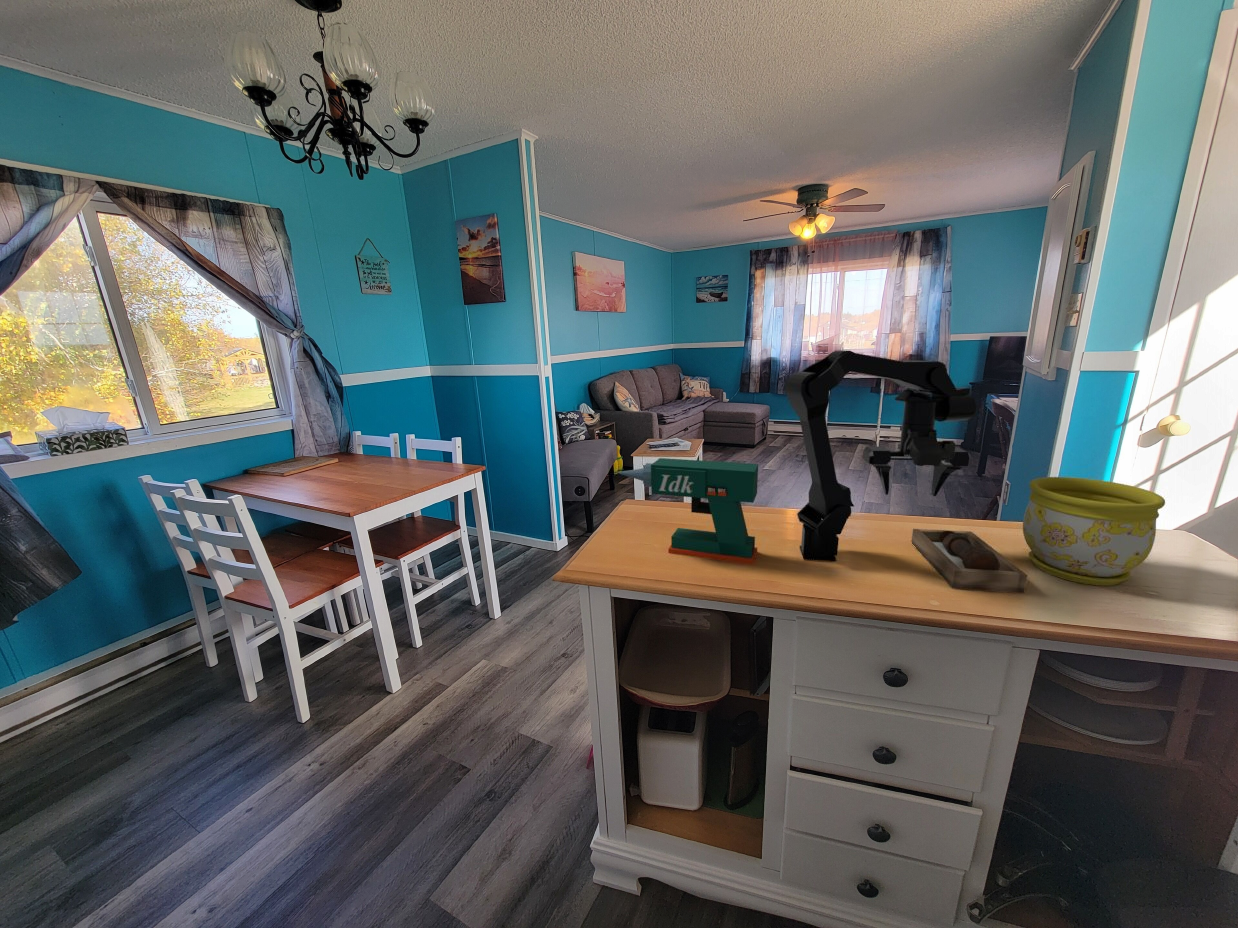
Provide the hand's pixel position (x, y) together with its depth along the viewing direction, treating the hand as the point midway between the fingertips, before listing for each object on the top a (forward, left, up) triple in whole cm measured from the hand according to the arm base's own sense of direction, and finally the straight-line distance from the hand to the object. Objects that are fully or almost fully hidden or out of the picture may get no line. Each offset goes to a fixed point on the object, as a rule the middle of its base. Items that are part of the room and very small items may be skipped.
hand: (909, 494), depth 102 cm
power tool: (-48, -8, -12) cm, 50 cm away
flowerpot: (+28, -7, -12) cm, 31 cm away
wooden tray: (+8, -8, -12) cm, 16 cm away
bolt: (+8, -8, -11) cm, 16 cm away
